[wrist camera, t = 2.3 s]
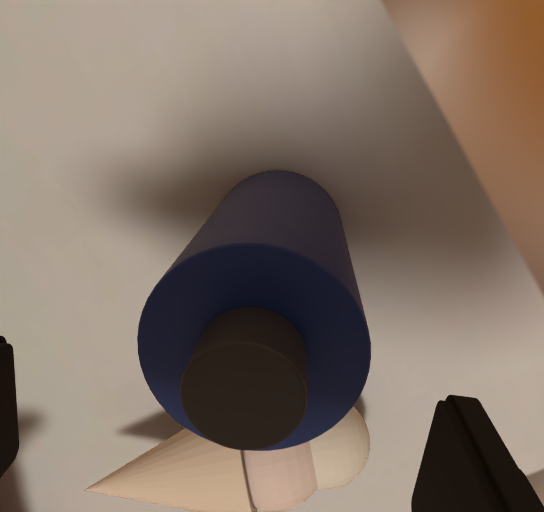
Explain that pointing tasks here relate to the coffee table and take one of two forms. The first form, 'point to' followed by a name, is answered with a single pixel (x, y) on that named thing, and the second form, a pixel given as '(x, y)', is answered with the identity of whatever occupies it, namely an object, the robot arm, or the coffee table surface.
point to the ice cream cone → (241, 471)
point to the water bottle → (259, 320)
